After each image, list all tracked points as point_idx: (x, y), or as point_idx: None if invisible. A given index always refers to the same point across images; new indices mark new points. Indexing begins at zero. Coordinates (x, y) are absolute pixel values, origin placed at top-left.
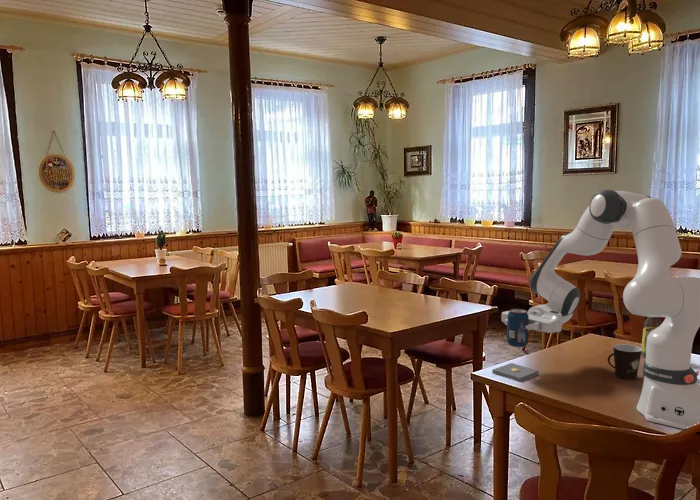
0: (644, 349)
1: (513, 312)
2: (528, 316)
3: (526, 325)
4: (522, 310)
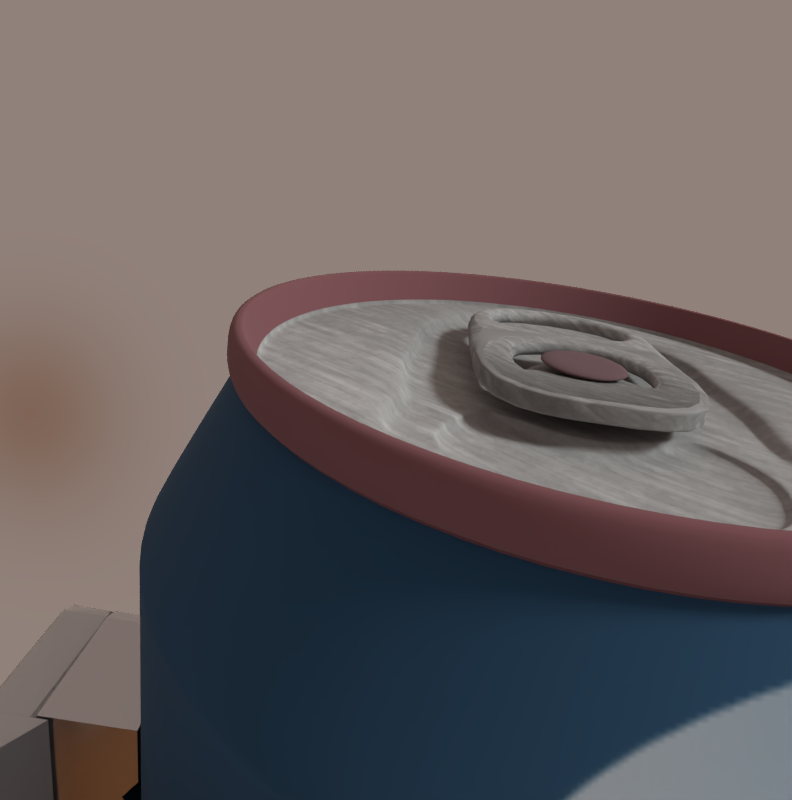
0: None
1: (528, 290)
2: (145, 566)
3: None
4: (664, 547)
